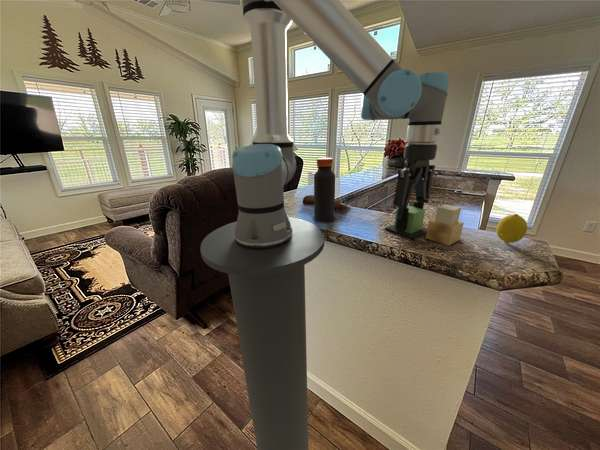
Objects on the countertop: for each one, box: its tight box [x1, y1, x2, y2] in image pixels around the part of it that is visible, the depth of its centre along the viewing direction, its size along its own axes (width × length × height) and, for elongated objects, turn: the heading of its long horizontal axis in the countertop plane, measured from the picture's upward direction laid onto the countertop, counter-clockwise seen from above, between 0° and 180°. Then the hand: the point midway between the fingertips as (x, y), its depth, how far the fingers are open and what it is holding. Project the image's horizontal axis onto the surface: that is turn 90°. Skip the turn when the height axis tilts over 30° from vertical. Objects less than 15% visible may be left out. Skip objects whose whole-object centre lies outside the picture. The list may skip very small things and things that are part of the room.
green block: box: [393, 205, 426, 234], centre depth 68 cm, size 6×6×6 cm
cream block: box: [434, 203, 462, 226], centre depth 61 cm, size 4×4×4 cm
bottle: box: [313, 157, 336, 223], centre depth 77 cm, size 7×7×20 cm
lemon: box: [496, 213, 528, 244], centre depth 59 cm, size 6×6×8 cm
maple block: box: [425, 218, 464, 247], centre depth 63 cm, size 6×6×5 cm
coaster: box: [384, 224, 428, 240], centre depth 69 cm, size 9×9×1 cm
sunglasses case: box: [302, 194, 351, 214], centre depth 92 cm, size 18×7×7 cm
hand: (408, 225), depth 69 cm, fingers open, 7 cm apart
